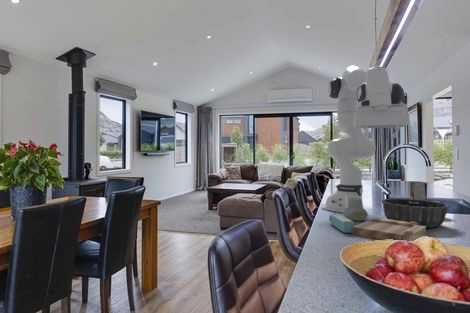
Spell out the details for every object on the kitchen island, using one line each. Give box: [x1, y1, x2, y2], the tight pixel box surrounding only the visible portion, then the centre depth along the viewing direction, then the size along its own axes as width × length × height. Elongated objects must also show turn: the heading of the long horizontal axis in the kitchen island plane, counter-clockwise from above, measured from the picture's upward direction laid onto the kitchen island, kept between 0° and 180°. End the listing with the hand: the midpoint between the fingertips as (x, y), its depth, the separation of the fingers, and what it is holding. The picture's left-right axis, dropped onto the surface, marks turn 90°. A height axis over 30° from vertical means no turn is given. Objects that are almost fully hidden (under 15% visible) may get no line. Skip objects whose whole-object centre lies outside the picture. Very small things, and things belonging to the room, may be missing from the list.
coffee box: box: [408, 181, 428, 200], centre depth 183 cm, size 9×6×16 cm
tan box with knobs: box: [351, 217, 427, 241], centre depth 135 cm, size 22×20×4 cm
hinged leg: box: [328, 213, 355, 233], centre depth 145 cm, size 18×4×5 cm, turn 3°
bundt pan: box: [381, 198, 449, 229], centre depth 154 cm, size 26×26×10 cm
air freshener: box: [342, 198, 368, 222], centre depth 163 cm, size 11×8×10 cm
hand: (382, 137), depth 134 cm, fingers open, 8 cm apart
